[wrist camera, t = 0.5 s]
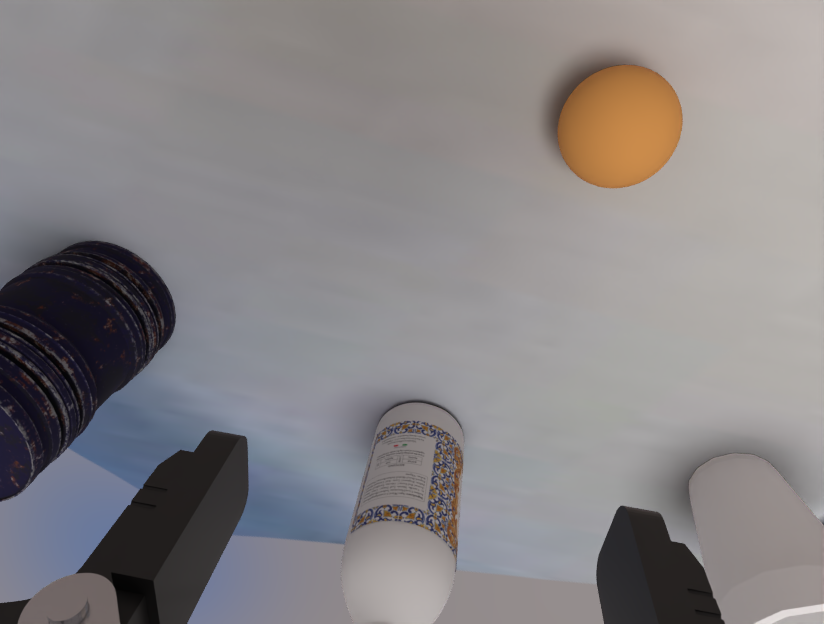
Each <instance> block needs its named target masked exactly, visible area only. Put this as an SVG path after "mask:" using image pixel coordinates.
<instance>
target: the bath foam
mask: <svg viewBox="0 0 824 624" xmlns="http://www.w3.org/2000/svg"><path fill="white" fill-rule="evenodd" d="M463 454H464V436H463V432H462V430H461V427H460V425H459V424H458V422H457V421H456V420H455V419H454V418H453V417H452V416H451V415H450V414H449V413H448V412H446V411H445V410H443V409H441V408H438V407H436V406H433V405H429V404H426V403H406V404H402V405H399V406H397V407H394V408H393V409H391V410H390V411H388V412H387V413H386V414H385V415H384V416H383V417H382V418H381V420H380V422H379V424H378V426H377V429H376V432H375V436H374V440H373V443H372V447H371V450H370V454H369V458H368V461H367V465H366V469H365V472H364V476H363V479H362V483H361V487H360V490H359V494H358V498H357V501H356V505H355V508H354V512H353V516H352V519H351V523H350V527H349V530H348V534H347V538H346V541H345V545H344V550H343V556H342V563H341V581H342V589H343V594H344V598H345V601H346V604H347V607H348V610H349V613H350V615H351V618H352V621H353V623H354V624H433V623H434V621H435V620H436V619H437V617H438V616H439V615H440V613H441V611H442V610H443V608H444V606H445V604H446V602H447V600H448V597H449V595H450V592H451V589H452V585H453V581H454V576H455V572H456V562H457V547H458V532H459V517H460V502H461V487H462V472H463Z"/></svg>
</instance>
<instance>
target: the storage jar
mask: <svg viewBox="0 0 824 624" xmlns="http://www.w3.org/2000/svg"><path fill="white" fill-rule="evenodd" d="M175 318H176V314H175V306H174V303H173V300H172V296H171V294H170V292H169V290H168V288H167V286H166V285H165V283H164V282H163V280H162V279H161V277H160V276H159V275H158V274H157V272H156V271H155V270H154V269H153V268H152V267H151V266H150V265H149V264H148V263H147V262H145V261H144V260H143V259H141V258H140V257H139V256H137V255H135V254H134V253H132V252H130V251H129V250H127V249H124V248H122V247H120V246H117V245H114V244H110V243H107V242H100V241H86V242H80V243H77V244H74V245H72V246H69V247H68V248H66V249H64V250H63V251H61V252H60V253H58V254H56V255H54V256H51V257H48V258H46V259H43V260H41V261H40V262H38V263H36V264H34V265H33V266H31V267H30V268H28V269H27V270H25V271H24V272H23V273H22V274H20V275H19V276H17V277H15V278H14V279H12V280H11V281H9V282H8V283H7V284H6V285H5V286H4V287H3V288H2V289H1V291H0V502H1V501H5V500H9V499H11V498H13V497H15V496H17V495H18V494H20V493H21V492H22V491H24V490H25V489H26V488H27V487H28V486H29V485H30V484H31V483H32V482H33V481H34V479H35V478H36V477H37V475H38V474H39V473H40V472H42V471H43V470H44V469H45V468H46V467H47V466H48V465H49V464H50V463H52V462H53V461H54V460H55V459H57V458H58V457H59V456H60V455H61V454H62V453H63V452H64V451H65V450H66V449H67V448H68V447H69V446H70V445H71V443H72V442H73V441H74V439H75V438H76V437H78V436H79V435H80V434H81V433H83V431H84V430H85V429H86V427H87V426H88V424H89V422H90V421H91V420H92V418H93V416H94V414H95V411H96V410H97V409H98V408H99V407H100V406H101V405H102V404H103V403H104V402H105V401H106V400H107V399H108V398H109V397H110V396H111V395H112V394H113V393H114V392H116V391H118V390H120V389H122V388H123V387H124V386H125V385H126V384H127V383H128V382H129V381H130V380H132V379H133V377H135V376H136V375H137V374H139V373H140V372H141V371H142V370H143V369H144V368H145V367H146V366H147V365H148V364H149V362H150V361H151V360H152V359H153V357H154V355H155V354H156V353H157V351H158V350H160V349H161V348H162V347H163V346H164V345H165V344H166V343H167V341H168V340H169V339H170V337H171V335H172V333H173V331H174V326H175Z"/></svg>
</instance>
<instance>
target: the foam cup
mask: <svg viewBox="0 0 824 624" xmlns="http://www.w3.org/2000/svg"><path fill="white" fill-rule="evenodd" d="M689 496H690V502H691V507H692V512H693V516H694V521H695V526H696V530H697V535H698V540H699V544H700V549H701V554H702V558H703V563H704V568H705V572H706V576H707V578H708V581H709V583H710V586H711V589H712V591H713V598H715V599H716V602H717V604H718V607H719V609H720V612H721V614H722V615H721V619H722V620H724V622H725V624H824V525H823V524H822V523H821V522H820V521H819V519H818V518H817V517H816V516H815V515H814V514H813V512H812V511H811V510H810V509H809V508H808V506H807V505H806V504H805V503H804V502H803V501H802V499H801V498H800V497H799V496H798V495H797V493H796V492H795V491H794V490H793V489H792V488H791V486H790V485H789V484H788V483H787V482H786V480H785V479H784V478H783V477H782V476H781V475H780V473H779V472H778V471H777V470H776V469H775V468H774V467H773V466H772V465H771V463H770V462H768V461H766V460H764V459H762V458H760V457H758V456H756V455H752V454H739V453H732V454H728V455H723V456H719V457H715V458H712V459H711V460H709V461H708V462H706V463H704V464H703V465H701V466H700V467H698V468H697V469H696V471H695V472H694V474H693V475H692V477H691V478H690V480H689Z"/></svg>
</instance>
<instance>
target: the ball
mask: <svg viewBox="0 0 824 624" xmlns="http://www.w3.org/2000/svg"><path fill="white" fill-rule="evenodd" d="M681 131H682V110H681V105H680V102H679V99H678V97H677V95H676V93H675V91H674V89H673V88H672V86H671V85H670V84H669V83H668V82H667V81H666V80H665V79H664V78H663V77H662V76H660V75H659V74H658V73H656V72H654V71H652V70H650V69H647V68H644V67H640V66H635V65H618V66H613V67H608V68H605V69H603V70H600V71H598V72H596V73H594V74H592V75H591V76H589V77H588V78H586V79H585V80H584V81H583V82H582V83H580V84H579V85H578V86H577V87H576V88H575V90H574V91H573V92H572V93H571V95H570V96H569V97H568V99H567V101H566V103H565V104H564V107H563V109H562V111H561V114H560V118H559V123H558V143H559V148H560V152H561V154H562V156H563V159H564V160H565V162H566V164H567V165H568V166H569V168H570V169H571V170H572V171H573V172H574V173H575V174H576V175H577V176H578V177H580V178H581V179H582V180H584V181H586V182H588V183H590V184H593V185H596V186H599V187H604V188H622V187H628V186H631V185H635V184H637V183H640V182H642V181H644V180H646V179H648V178H649V177H651V176H652V175H654V174H655V173H656V172H658V171H659V170H660V169H661V168H662V167H663V166H664V165H665V164H666V162H667V161H668V160H669V159H670V157H671V156H672V154H673V152H674V150H675V149H676V147H677V144H678V141H679V139H680V135H681Z"/></svg>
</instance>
